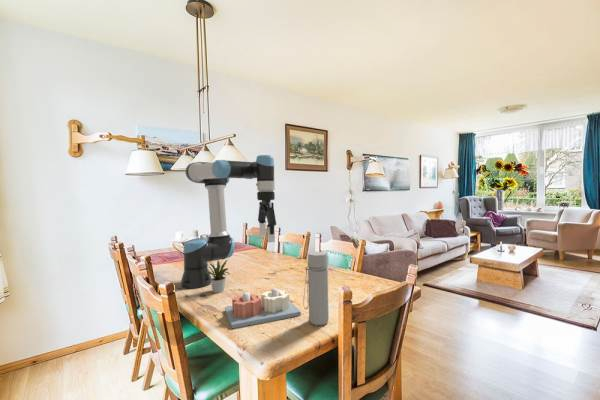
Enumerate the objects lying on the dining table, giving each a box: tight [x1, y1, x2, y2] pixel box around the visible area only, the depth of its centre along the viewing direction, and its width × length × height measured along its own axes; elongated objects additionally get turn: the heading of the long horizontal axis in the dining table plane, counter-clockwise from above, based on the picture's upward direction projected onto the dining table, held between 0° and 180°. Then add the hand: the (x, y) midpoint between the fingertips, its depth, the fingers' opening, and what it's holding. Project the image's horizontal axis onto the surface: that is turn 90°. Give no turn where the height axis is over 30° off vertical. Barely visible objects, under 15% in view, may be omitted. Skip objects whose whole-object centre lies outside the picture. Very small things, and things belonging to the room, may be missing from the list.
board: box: [224, 287, 302, 329], centre depth 112 cm, size 17×26×8 cm, turn 113°
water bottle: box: [302, 251, 330, 326], centre depth 103 cm, size 9×8×25 cm
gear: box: [231, 293, 261, 318], centre depth 110 cm, size 10×10×5 cm
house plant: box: [204, 258, 230, 294], centre depth 137 cm, size 14×14×16 cm
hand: (266, 239), depth 125 cm, fingers open, 13 cm apart
